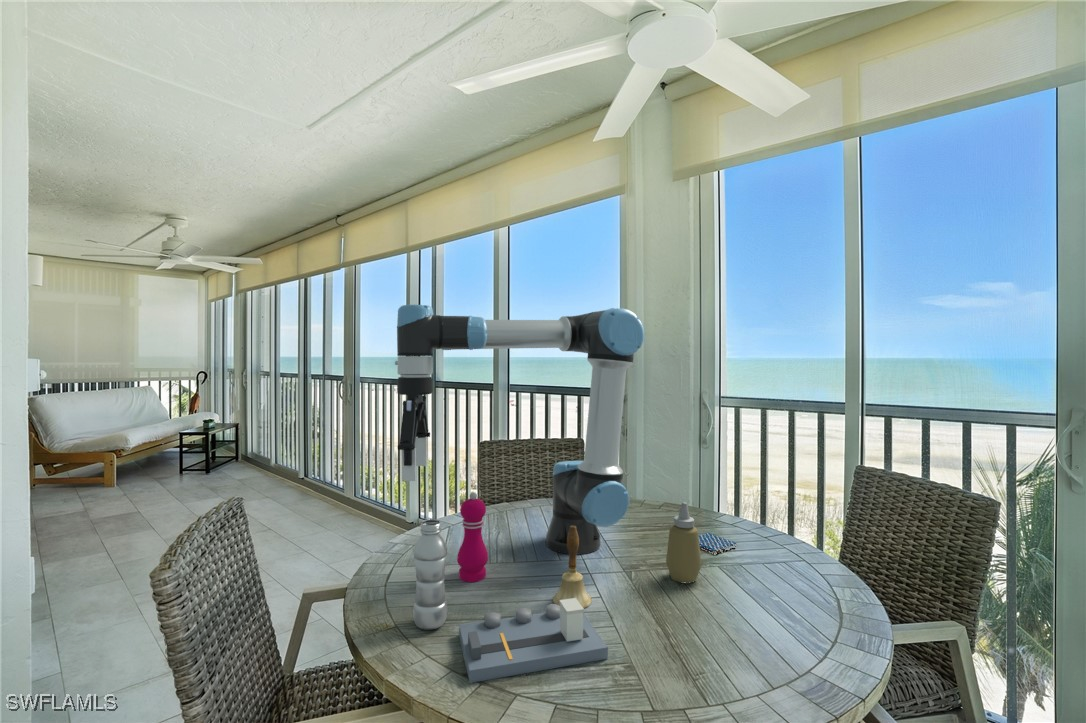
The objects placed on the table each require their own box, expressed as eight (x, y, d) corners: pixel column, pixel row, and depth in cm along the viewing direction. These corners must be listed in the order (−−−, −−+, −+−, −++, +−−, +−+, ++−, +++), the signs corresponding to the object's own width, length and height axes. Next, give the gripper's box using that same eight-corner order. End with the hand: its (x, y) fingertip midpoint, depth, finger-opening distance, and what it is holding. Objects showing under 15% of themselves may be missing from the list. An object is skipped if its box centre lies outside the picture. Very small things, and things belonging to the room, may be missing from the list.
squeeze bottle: (707, 578, 118) (708, 503, 118) (691, 590, 112) (692, 510, 112) (675, 568, 123) (676, 496, 123) (659, 578, 117) (660, 503, 117)
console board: (579, 617, 100) (579, 597, 100) (607, 658, 86) (608, 635, 86) (459, 635, 93) (459, 614, 93) (469, 683, 79) (469, 658, 79)
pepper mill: (482, 584, 113) (483, 497, 113) (452, 581, 115) (453, 495, 114) (491, 571, 120) (492, 489, 120) (463, 568, 122) (464, 487, 122)
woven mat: (739, 549, 137) (739, 542, 137) (715, 558, 131) (715, 550, 131) (707, 537, 146) (707, 531, 146) (683, 545, 140) (683, 538, 140)
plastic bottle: (430, 638, 92) (431, 530, 91) (405, 627, 95) (405, 524, 95) (454, 622, 97) (455, 521, 97) (429, 613, 101) (430, 515, 100)
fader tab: (575, 626, 92) (575, 597, 92) (583, 639, 88) (583, 609, 88) (559, 629, 91) (559, 600, 91) (566, 642, 87) (566, 611, 87)
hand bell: (547, 594, 109) (548, 522, 109) (581, 589, 112) (582, 518, 112) (562, 613, 101) (562, 535, 101) (598, 606, 104) (599, 530, 104)
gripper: (409, 373, 121) (409, 460, 121) (383, 378, 96) (383, 488, 96) (440, 373, 121) (440, 460, 121) (422, 379, 96) (422, 487, 97)
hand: (415, 472), depth 109 cm, fingers open, 13 cm apart
